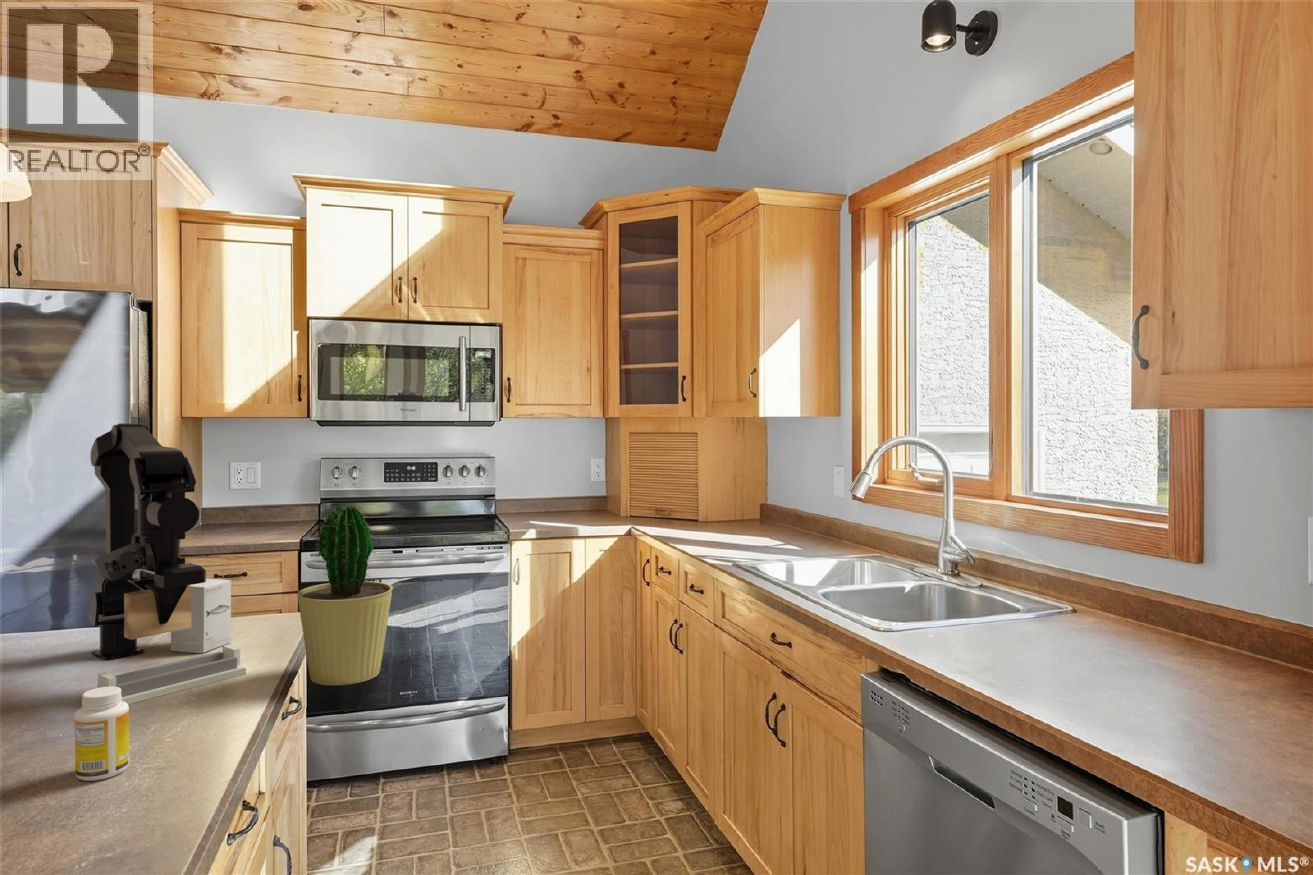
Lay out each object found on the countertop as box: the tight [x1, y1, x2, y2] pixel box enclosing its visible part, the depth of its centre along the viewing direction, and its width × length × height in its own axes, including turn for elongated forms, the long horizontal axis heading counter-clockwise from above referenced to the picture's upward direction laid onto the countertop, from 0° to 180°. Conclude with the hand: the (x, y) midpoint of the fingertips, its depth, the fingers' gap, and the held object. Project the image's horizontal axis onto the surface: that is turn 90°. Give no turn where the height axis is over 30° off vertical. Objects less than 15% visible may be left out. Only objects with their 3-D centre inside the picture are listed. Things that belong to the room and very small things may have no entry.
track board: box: [97, 644, 247, 705], centre depth 129 cm, size 8×20×4 cm, turn 146°
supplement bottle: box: [74, 686, 131, 782], centre depth 97 cm, size 6×6×10 cm
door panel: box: [124, 585, 191, 640], centre depth 127 cm, size 2×9×7 cm, turn 146°
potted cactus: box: [297, 503, 394, 686], centre depth 135 cm, size 15×15×30 cm
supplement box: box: [170, 578, 232, 654], centre depth 150 cm, size 7×7×13 cm
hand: (159, 622), depth 127 cm, fingers closed on door panel, 2 cm apart
